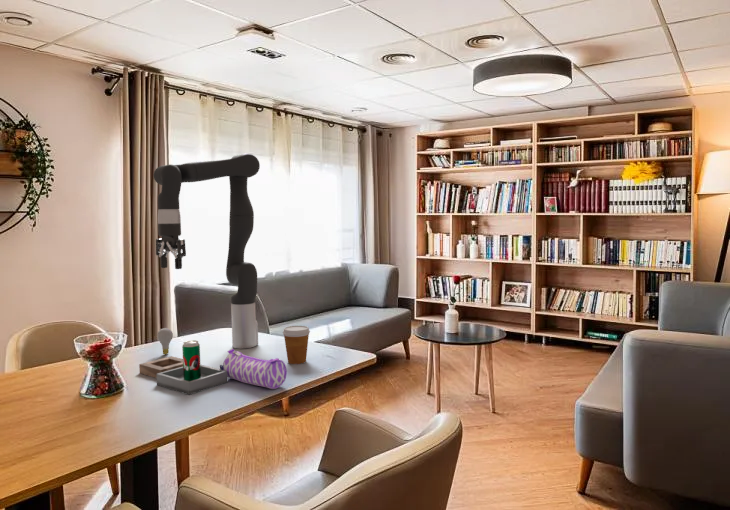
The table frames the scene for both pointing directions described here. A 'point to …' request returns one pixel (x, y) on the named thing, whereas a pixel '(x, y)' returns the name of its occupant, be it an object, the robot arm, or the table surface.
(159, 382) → the tray
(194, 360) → the soda can
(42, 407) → the table surface
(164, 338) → the light bulb
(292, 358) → the disposable coffee cup
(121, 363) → the table surface
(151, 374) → the square wooden frame
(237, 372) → the pencil case
